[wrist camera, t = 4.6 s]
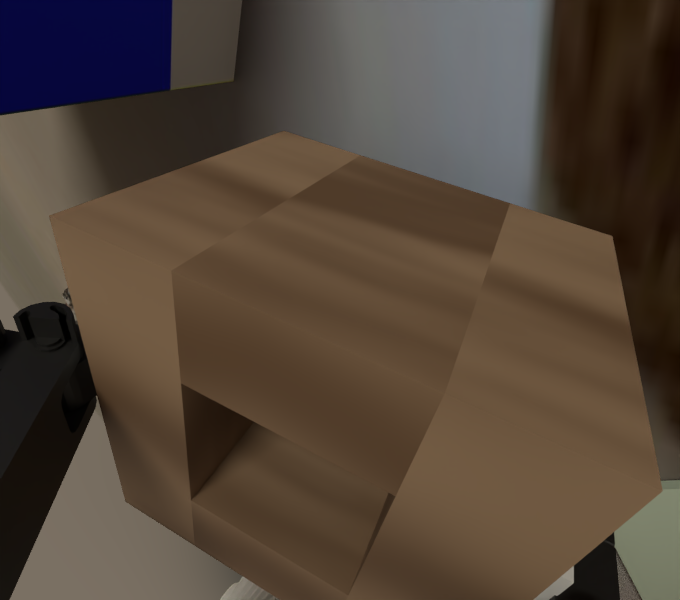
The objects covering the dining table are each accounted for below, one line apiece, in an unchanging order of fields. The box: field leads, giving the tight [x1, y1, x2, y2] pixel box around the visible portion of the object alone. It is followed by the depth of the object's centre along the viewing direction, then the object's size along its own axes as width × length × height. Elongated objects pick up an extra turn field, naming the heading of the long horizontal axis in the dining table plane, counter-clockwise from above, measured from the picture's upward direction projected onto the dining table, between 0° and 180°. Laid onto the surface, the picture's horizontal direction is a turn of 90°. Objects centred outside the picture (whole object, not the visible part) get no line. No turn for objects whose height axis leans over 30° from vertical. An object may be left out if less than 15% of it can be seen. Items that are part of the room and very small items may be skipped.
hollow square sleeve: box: [49, 131, 663, 600], centre depth 12 cm, size 10×10×8 cm
